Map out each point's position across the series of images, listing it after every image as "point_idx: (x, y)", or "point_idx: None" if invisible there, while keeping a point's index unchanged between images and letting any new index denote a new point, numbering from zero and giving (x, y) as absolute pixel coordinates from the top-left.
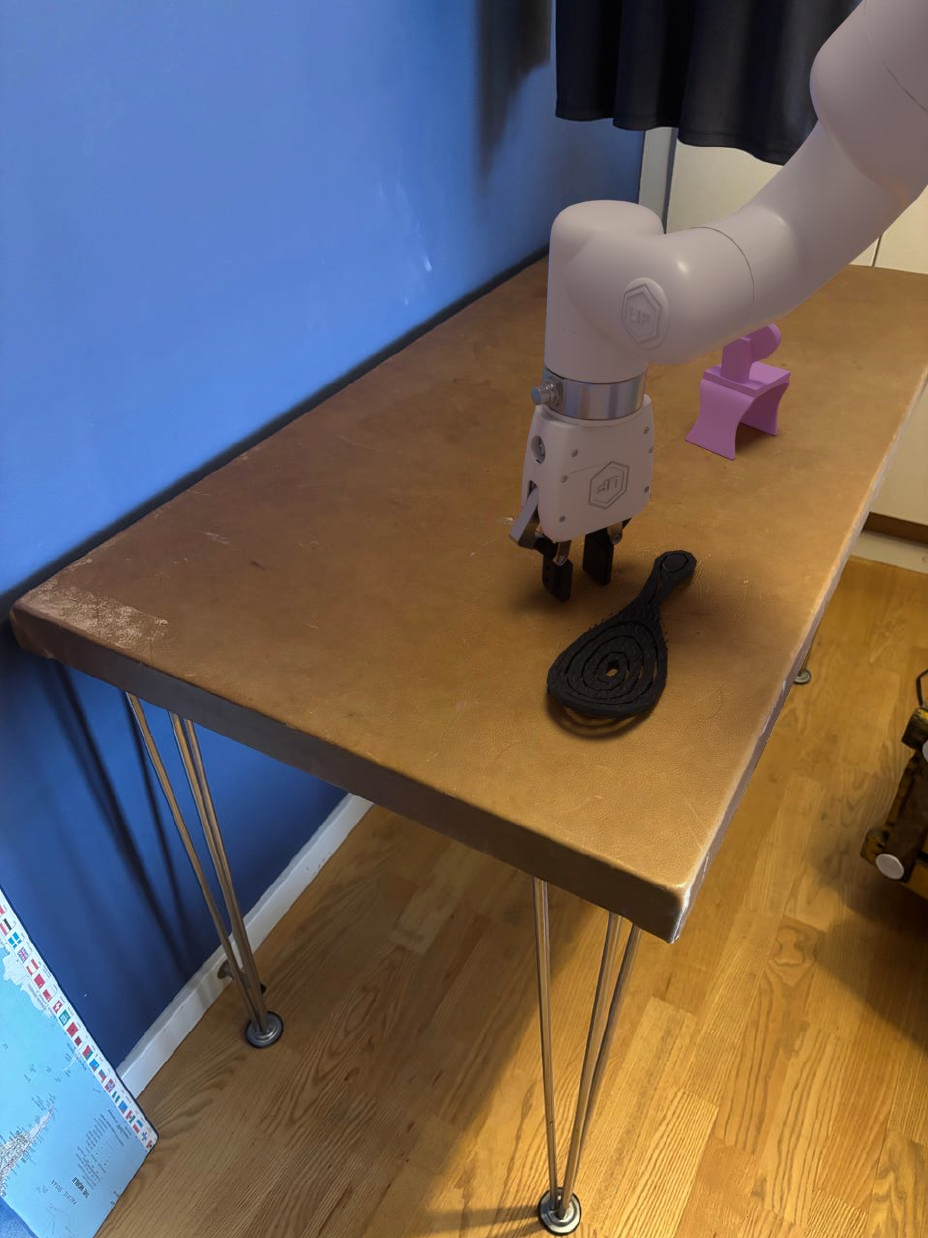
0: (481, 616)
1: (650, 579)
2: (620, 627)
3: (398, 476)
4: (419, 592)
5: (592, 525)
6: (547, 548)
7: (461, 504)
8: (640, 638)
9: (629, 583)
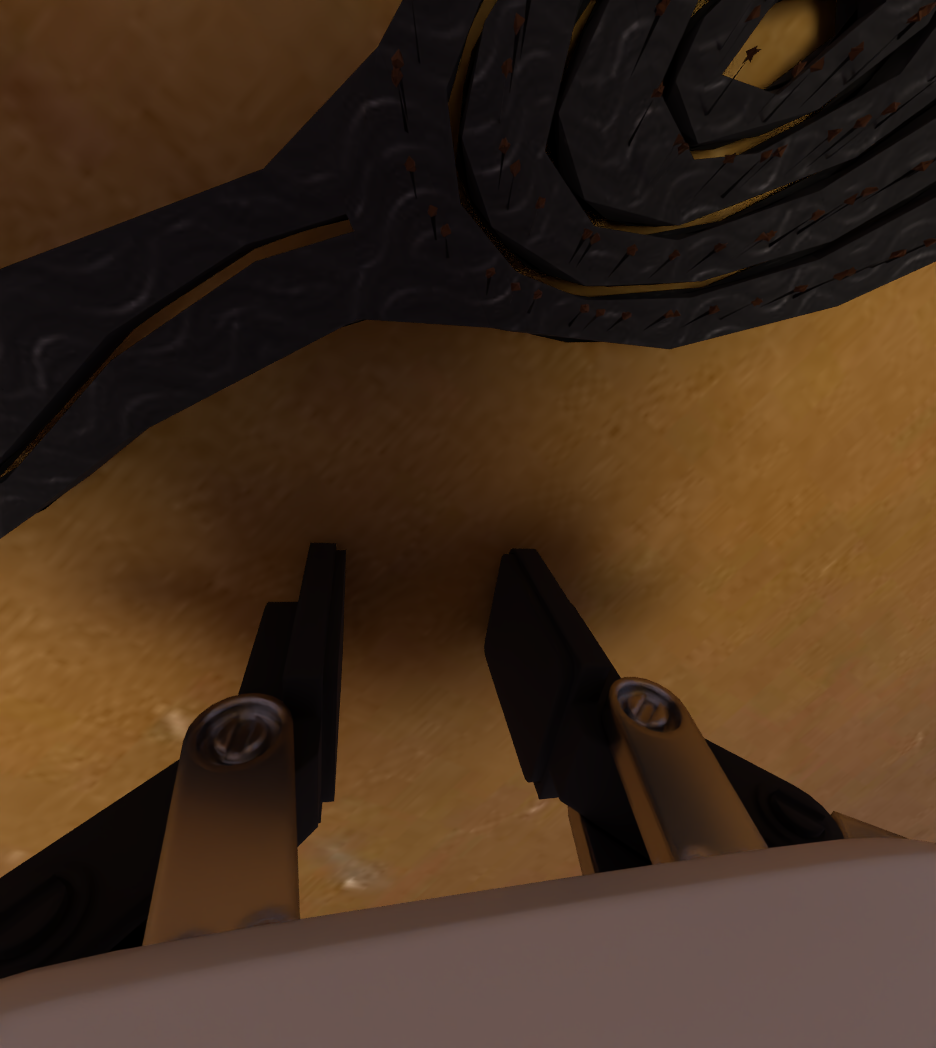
0: (721, 620)
1: (175, 391)
2: (548, 243)
3: None
4: (729, 745)
5: (789, 990)
6: (761, 795)
7: None
8: (534, 86)
9: (211, 509)
